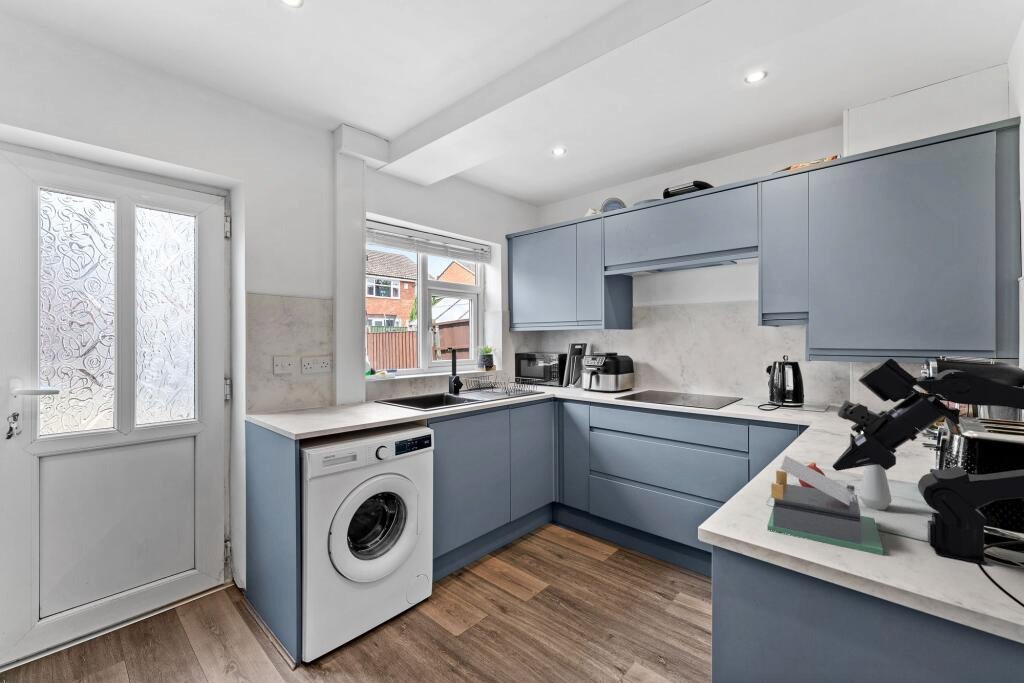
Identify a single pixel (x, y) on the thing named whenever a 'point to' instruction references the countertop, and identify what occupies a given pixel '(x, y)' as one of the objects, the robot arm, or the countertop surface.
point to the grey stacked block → (814, 511)
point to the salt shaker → (875, 488)
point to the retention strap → (818, 480)
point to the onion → (813, 466)
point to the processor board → (868, 540)
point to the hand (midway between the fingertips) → (834, 468)
